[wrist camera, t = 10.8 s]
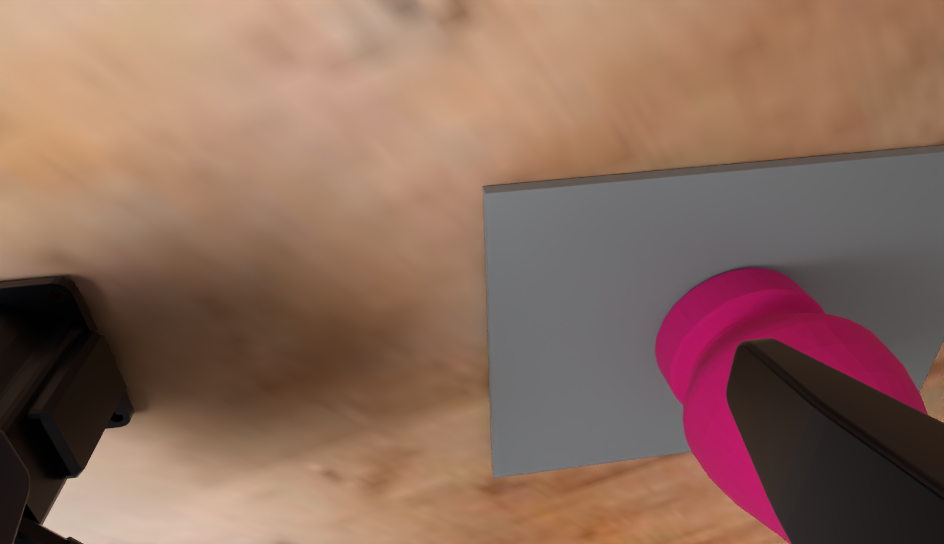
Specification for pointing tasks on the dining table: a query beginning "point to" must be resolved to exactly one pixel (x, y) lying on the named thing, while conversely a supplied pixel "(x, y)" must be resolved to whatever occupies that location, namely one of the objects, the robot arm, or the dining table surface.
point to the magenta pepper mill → (712, 352)
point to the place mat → (688, 284)
